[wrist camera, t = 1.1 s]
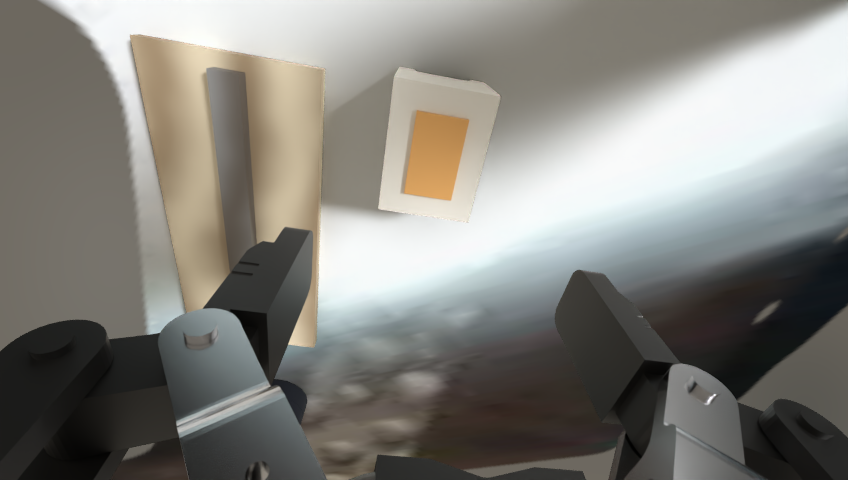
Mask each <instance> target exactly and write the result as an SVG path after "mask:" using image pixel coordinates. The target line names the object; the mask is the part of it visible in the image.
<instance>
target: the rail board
mask: <svg viewBox="0 0 848 480" xmlns="http://www.w3.org/2000/svg"><path fill="white" fill-rule="evenodd" d="M130 38H131V43H132V48H133V53H134V58H135V63H136V68H137V73H138V77H139V82H140V87H141V92H142V97H143V102H144V107H145V112H146V117H147V122H148V127H149V131H150V136H151V141H152V146H153V151H154V156H155V161H156V166H157V171H158V176H159V181H160V186H161V190H162V195H163V200H164V205H165V210H166V215H167V220H168V225H169V230H170V235H171V240H172V244H173V249H174V254H175V259H176V264H177V269H178V274H179V279H180V284H181V289H182V294H183V298H184V303H185V308H186V313H188V312H191V311H195V310H199V309H203V307H204V306H205V305H206V303H207V302H208V301H209V300H210V298H211V297H212V296H213V294H214V293H215V292H216V290H217V289H218V288H219V286H220V285H221V284H222V283H223V281H224V280H225V279H226V277H227V276H228V275H229V273H231V271H232V269H233V268H234V267H235V266H236V264H238V263H239V260H240V259H241V258H242V256H243V255H244V254H245V252H246V251H247V250H248V249H250V248H251V247H253V246H255V245H257V244H258V243H260V242H262V241H266V242H275V240H276V239H277V237H278V236H279V234H280V233H281V231H282V230H283V228H284V227H291V228H298V229H305V230H311V231H312V232H313V256H312V278H311V285H310V290H309V293H308V296H307V299H306V301H305V304H304V306H303V309H302V311H301V313H300V316H299V318H298V321H297V323H296V326H295V328H294V331H293V333H292V336H291V338H290V341H289V343H288V345H297V346H305V347H314V346H315V343H316V339H317V308H318V277H319V247H320V216H321V186H322V155H323V124H324V94H325V69H324V68H319V67H313V66H308V65H302V64H297V63H292V62H286V61H281V60H275V59H270V58H264V57H259V56H254V55H248V54H243V53H237V52H232V51H226V50H221V49H216V48H210V47H205V46H199V45H194V44H188V43H183V42H178V41H172V40H167V39H161V38H156V37H150V36H145V35H130Z"/></svg>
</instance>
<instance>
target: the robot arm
mask: <svg viewBox="0 0 848 480" xmlns="http://www.w3.org/2000/svg"><path fill="white" fill-rule="evenodd" d="M312 256H313V232H312V231H311V230H305V229H298V228H291V227H284V228H283V230H282V231H281V233H280V234H279V236H278V237H277V239H276V240H275V242H266V241H262V242H260V243H258V244H257V245H255V246H253V247H251V248H250V249H248V250H247V251H246V252H245V254H244V255H243V256H242V258H241V259H240V260H239V263H238V264H236V266H235V267H234V268H233V269H232V271H231V273H229V275H228V276H227V277H226V279H225V280H224V281H223V283H222V284H221V285H220V286H219V288H218V289H217V290H216V292H215V293H214V294H213V296H212V297H211V298H210V300H209V301H208V302H207V303H206V305H205V306H204V307H203V309H199V310H195V311H191V312H188V313H185V314H183V315H181V316H179V317H177V318H175V319H174V320H172V321H171V322H169V323H168V324H167V325H166V326H165V327H164V328H163V330H162V331H161V333H158V334H151V335H143V336H135V337H126V338H118V339H108V336H107V333H106V330H105V329H104V327H102V326H101V325H100V324H98V323H96V322H92V321H88V320H67V321H62V322H57V323H52V324H49V325H46V326H43V327H39V328H37V329H35V330H32V331H30V332H28V333H26V334H24V335H22V336H20V337H19V338H17V339H15V340H14V341H13V342H11V343H10V344H8V345H7V346H6V347H5V348H4V349H2V350H1V351H0V480H110V478H111V477H112V475H113V474H114V472H115V470H116V469H117V467H118V465H119V464H120V462H121V461H122V459H123V457H124V456H125V454H126V452H127V451H128V449H129V448H131V447H136V446H141V445H146V444H150V443H155V442H160V441H164V440H169V439H174V438H179V439H180V443H181V447H182V452H183V456H184V460H185V464H186V469H187V473H188V477H189V480H327V479H326V477H325V475H324V473H323V471H322V469H321V467H320V465H319V463H318V460H317V458H316V456H315V454H314V452H313V450H312V448H311V446H310V444H309V442H308V440H307V438H306V436H305V434H304V432H303V430H302V428H301V426H300V424H299V422H298V420H297V418H296V416H295V414H294V412H293V410H292V408H291V406H290V404H289V402H288V400H287V398H286V396H285V394H284V392H283V391H282V389H281V388H280V387H279V386H278V385H273V386H271V385H272V383H273V380H274V378H275V375H276V373H277V370H278V368H279V365H280V363H281V360H282V358H283V355H284V353H285V351H286V348H287V346H288V343H289V341H290V338H291V336H292V333H293V331H294V328H295V326H296V323H297V321H298V318H299V316H300V313H301V311H302V309H303V306H304V304H305V301H306V299H307V296H308V293H309V290H310V285H311V278H312ZM555 324H556V327H557V330H558V332H559V334H560V336H561V338H562V340H563V342H564V344H565V346H566V349H567V351H568V353H569V355H570V357H571V359H572V361H573V363H574V365H575V367H576V370H577V372H578V374H579V376H580V378H581V380H582V382H583V384H584V386H585V388H586V390H587V393H588V395H589V397H590V399H591V401H592V403H593V405H594V407H595V409H596V411H597V414H598V416H599V418H600V420H601V422H603V423H614V424H622V426H623V428H624V431H623V432H622V433H621V435H620V436H619V438H618V442H617V446H616V450H615V454H614V459H613V463H612V467H611V471H610V476H609V479H608V480H848V438H847V437H846V436H845V435H844V434H843V433H842V432H841V431H840V430H839V429H838V428H837V427H836V426H835V425H833V424H832V423H831V422H830V421H828V420H827V419H825V418H824V417H823V416H821V415H820V414H818V413H817V412H815V411H813V410H811V409H809V408H808V407H806V406H804V405H802V404H799V403H797V402H794V401H791V400H786V399H778V400H776V401H774V402H773V404H771V405H770V406H769V407H768V409H766V410H765V411H764V412H763V411H760V410H757V409H754V408H752V407H749V406H746V405H743V404H741V403H738V402H737V401H736V399H735V397H734V396H733V394H732V393H731V392H730V391H729V390H728V389H727V388H726V387H725V386H724V385H723V384H722V383H721V382H720V381H718V380H717V379H716V378H714V377H713V376H711V375H710V374H708V373H706V372H704V371H703V370H700V369H698V368H696V367H693V366H690V365H686V364H681V363H680V362H679V361H678V359H677V358H676V357H675V356H674V354H673V353H672V352H671V351H670V349H669V348H668V347H667V346H666V344H665V343H664V342H663V341H662V339H661V338H660V337H659V336H658V334H657V333H656V332H655V331H654V329H651V326H650V324H649V323H648V322H647V321H646V319H645V318H642V314H641V313H640V312H639V311H638V309H637V308H636V307H635V306H634V304H633V303H632V302H630V301H629V300H628V299H627V298H625V297H624V296H623V295H622V294H620V293H619V292H618V291H617V290H616V288H615V287H614V286H613V285H612V283H611V282H610V281H609V279H608V278H607V277H606V276H605V275H604V274H603V273H597V272H590V271H583V270H577V271H575V272H574V273H573V275H572V276H571V278H570V281H569V283H568V285H567V287H566V289H565V291H564V293H563V296H562V298H561V300H560V302H559V304H558V306H557V309H556V313H555ZM349 480H586V479H585V476H584V473H583V471H572V470H561V469H548V468H535V467H534V468H530V469H526V470H521V471H517V472H513V473H508V474H504V475H500V476H496V477H491V478H483V477H480V476H477V475H474V474H471V473H468V472H466V471H463V470H460V469H457V468H454V467H452V466H449V465H446V464H443V463H440V462H438V461H435V460H432V459H425V458H412V457H400V456H387V455H377V460H376V465H375V470H374V472H372V473H368V474H363V475H360V476H358V477H355V478H352V479H349Z"/></svg>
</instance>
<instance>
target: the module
mask: <svg viewBox="0 0 848 480" xmlns="http://www.w3.org/2000/svg"><path fill="white" fill-rule="evenodd" d="M500 99H501V96H500V95H499V94H498V93H496V92H495V91H494V90H493V89H492V88H490V87H489V86H488V85H487V84H486V83H485V82H480V81H474V80H469V81H465V80H460V79H455V78H449V77H444V76H439V75H433V74H428V73H423V72H417V71H415V69H411V68H405V67H399V68H398V70H397V72H396V74H395V76H394V80H393V88H392V97H391V105H390V113H389V122H388V130H387V138H386V147H385V155H384V163H383V172H382V180H381V189H380V197H379V205H378V209H380V210H387V211H393V212H400V213H407V214H413V215H420V216H426V217H433V218H440V219H446V220H453V221H460V222H466V223H468V221H469V218H470V214H471V210H472V206H473V202H474V198H475V195H476V191H477V187H478V183H479V179H480V176H481V172H482V168H483V164H484V160H485V157H486V153H487V149H488V145H489V141H490V137H491V134H492V130H493V126H494V122H495V118H496V115H497V111H498V107H499V103H500Z"/></svg>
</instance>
